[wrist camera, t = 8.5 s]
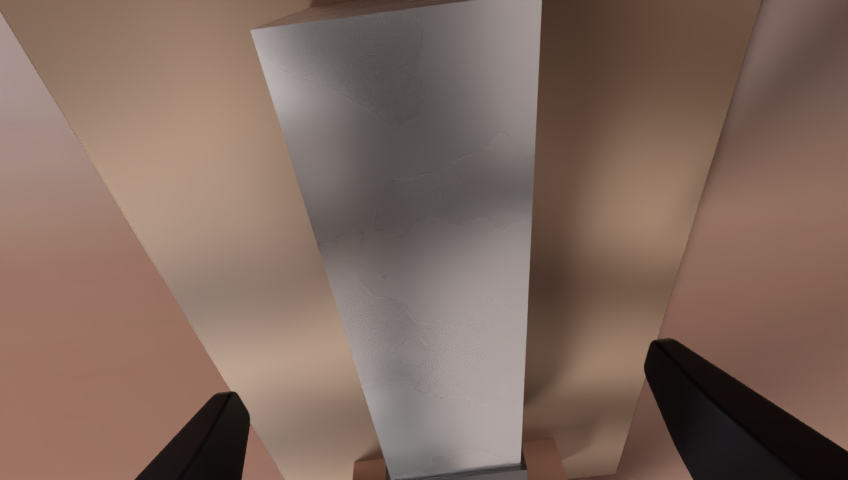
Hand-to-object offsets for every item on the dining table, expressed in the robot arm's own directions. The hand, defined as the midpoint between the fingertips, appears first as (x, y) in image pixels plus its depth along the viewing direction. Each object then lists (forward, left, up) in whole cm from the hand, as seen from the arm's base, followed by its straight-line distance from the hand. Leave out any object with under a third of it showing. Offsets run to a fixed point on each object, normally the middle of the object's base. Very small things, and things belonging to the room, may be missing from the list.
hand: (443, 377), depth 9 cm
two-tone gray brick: (0, 0, -3) cm, 3 cm away
